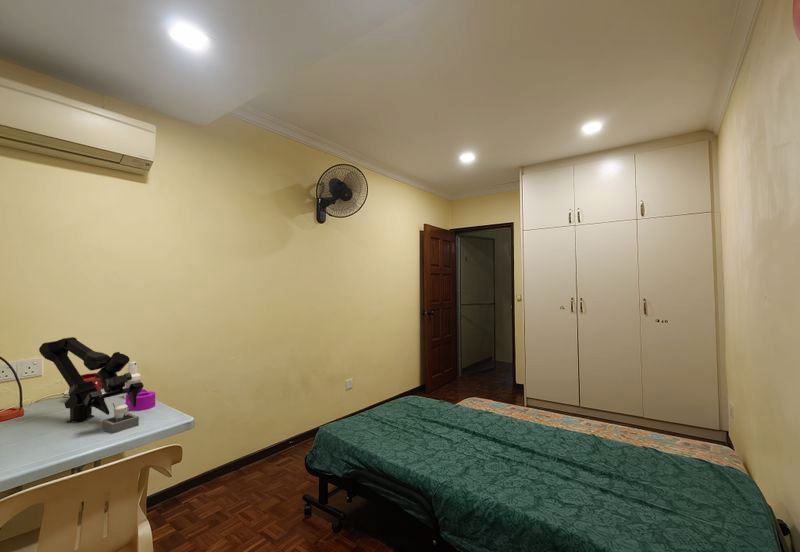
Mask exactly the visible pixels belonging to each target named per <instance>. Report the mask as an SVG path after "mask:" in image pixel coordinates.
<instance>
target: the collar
mask: <svg viewBox="0 0 800 552" xmlns="http://www.w3.org/2000/svg"><path fill="white" fill-rule="evenodd" d="M138 426H139V416H138V415H135V414H132V413H128V412H127V417H126V420H123V421H120V422H117V423H115V418H114V416H112V417H109V418H105V419H101V430H103V431H106V432H108V433H110V434H112V435H113V434H115V433H119V432H121V431H125V430H128V429H132V428H134V427H138Z"/></svg>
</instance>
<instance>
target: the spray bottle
mask: <svg viewBox="0 0 800 552" xmlns="http://www.w3.org/2000/svg"><path fill="white" fill-rule="evenodd" d="M129 372H130V373H131V375H132V379H131V380H130V381H128V382H126V383H125V386H124V387H123V389H125V388H129V387H130V385H131V384H132V383H137V382H142V379H141V377H142V374H141V373H139V372H138V361H132V362H131V361H130V362H128V367H127V373H129ZM126 394H127V393H124V394H123V398H124V399H125V400H126Z"/></svg>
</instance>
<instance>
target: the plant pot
mask: <svg viewBox="0 0 800 552" xmlns="http://www.w3.org/2000/svg"><path fill="white" fill-rule="evenodd" d="M96 374H97V372H92V373H84V374H80V375H81V377H82V378H83V380H84V381H86V382H89V381H92V382H93V383H94V385H95V386H96V387H97V388H96V389H97V391H101V392H102V390H103V389H102V388H101V387H102V383H101V381H100V378H95V376H96ZM68 389H70V387H69V386H68Z"/></svg>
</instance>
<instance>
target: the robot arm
mask: <svg viewBox="0 0 800 552" xmlns="http://www.w3.org/2000/svg"><path fill="white" fill-rule="evenodd" d="M38 352H39V353H40V355H41V356H42V357H43V358H44V359H45V360H48V361H51V362H52V363H53V364H54V366H55V367H56V368H57V370H58V371H59V373H60V375H61V376H62V378H63V379H64V381H65V382H66V383H67V385H68V388H69V387H70V388H69V392H68V396H69V398H67V400H66V401H65V402H64V407H65V409H69V419H68V420H66V423H81V422H85V421H87V420H89V419H92V418H94V416H95V415H92V410H93V409H92V408H95V409H97V410H99V411H101V412H102V413H104V414H105V415H107V416H108V415H110V410H109V408H108V406H107V404H106V401H105V399H106V398H111V397H115V396H120V395H124V393H128V395H129V399H130V401H131V403H132V405H133V407H134V408H135V407H136V399H137V395H138V394H139V393H140V392H141V390H142V389H144V387H145V386H144V383H143V382H142V381H141V382H137V383H132V384H131V385H130V387H129V388H125V389H124V386H125V383H126V382H128V381H130V380H131V379H132V375H131V373H130V372H129V373H128V372H126V373H124V374H121V375H118V373H119V372H121V371H122V370H123V369H124V368H125V366H127V365H128V364H129V363H130V357H129V356H128V355H126V354H125V353H120V351H115V352H113V353H112V355H111V356H109V354H107V353H104V352H101V351H94V350H93V349H92V348H90V347H88V346H87V345H85V344H83V342H80V341H79V340H78V339H77V338H76V337H74V336H71V337H64V338H61V339H58V340H55V341H48V342H44V343H42V344H41V346H40V347H39V348H38ZM69 353H71V354H73V355H74V356H76V357H77V358H79V359H80V360H82V361H83V366H85V368H87V369H88V370H89V371H92V372H93V371H97V370H99V371H97V372H96V373H97V374H96V376H95V378H100V381H101V383H102V387H101V388H102V389H101V391H97V389H96V388H97V387H96V386H95V385H94V383H93V382H92V381H89V382H86V381H84V380H83V378H82V377H81V375H82V374H80V372H79V370H78V369H77V368H76V366H75V365H74V363H73V362H72V360H71V359H70V357H69V355H68V354H69ZM102 390H104V392H103V391H102Z"/></svg>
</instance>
